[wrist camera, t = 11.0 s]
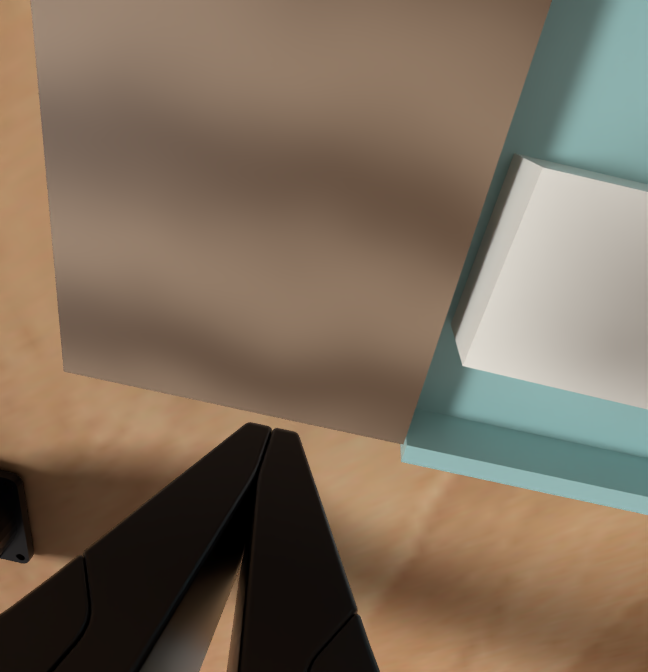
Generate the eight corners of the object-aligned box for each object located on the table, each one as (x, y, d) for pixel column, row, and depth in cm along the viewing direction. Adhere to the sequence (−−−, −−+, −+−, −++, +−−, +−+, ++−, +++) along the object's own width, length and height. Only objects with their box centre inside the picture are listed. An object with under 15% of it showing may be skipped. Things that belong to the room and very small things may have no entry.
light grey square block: (611, 361, 18) (651, 410, 15) (450, 323, 18) (462, 366, 15) (705, 197, 15) (775, 221, 12) (514, 153, 15) (542, 167, 12)
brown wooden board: (401, 405, 20) (403, 444, 18) (98, 340, 20) (63, 371, 18) (555, -82, 13) (591, -117, 10) (74, -178, 13) (9, -233, 11)
